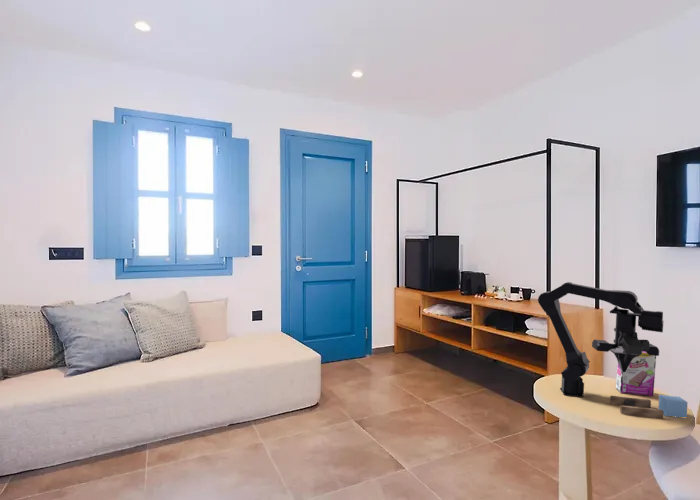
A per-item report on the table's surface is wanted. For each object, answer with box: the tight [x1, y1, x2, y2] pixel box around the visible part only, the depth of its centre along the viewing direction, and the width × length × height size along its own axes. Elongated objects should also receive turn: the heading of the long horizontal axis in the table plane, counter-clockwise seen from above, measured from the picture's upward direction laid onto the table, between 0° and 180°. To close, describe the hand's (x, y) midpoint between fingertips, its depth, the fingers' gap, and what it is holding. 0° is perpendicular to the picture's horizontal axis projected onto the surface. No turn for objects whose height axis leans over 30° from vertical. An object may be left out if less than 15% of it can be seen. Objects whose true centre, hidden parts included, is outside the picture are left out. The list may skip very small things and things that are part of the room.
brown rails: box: [609, 395, 664, 419], centre depth 135 cm, size 12×9×2 cm
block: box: [658, 394, 688, 418], centre depth 133 cm, size 6×4×6 cm
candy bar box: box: [615, 351, 657, 397], centre depth 151 cm, size 11×5×16 cm, turn 77°
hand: (623, 371), depth 138 cm, fingers closed
